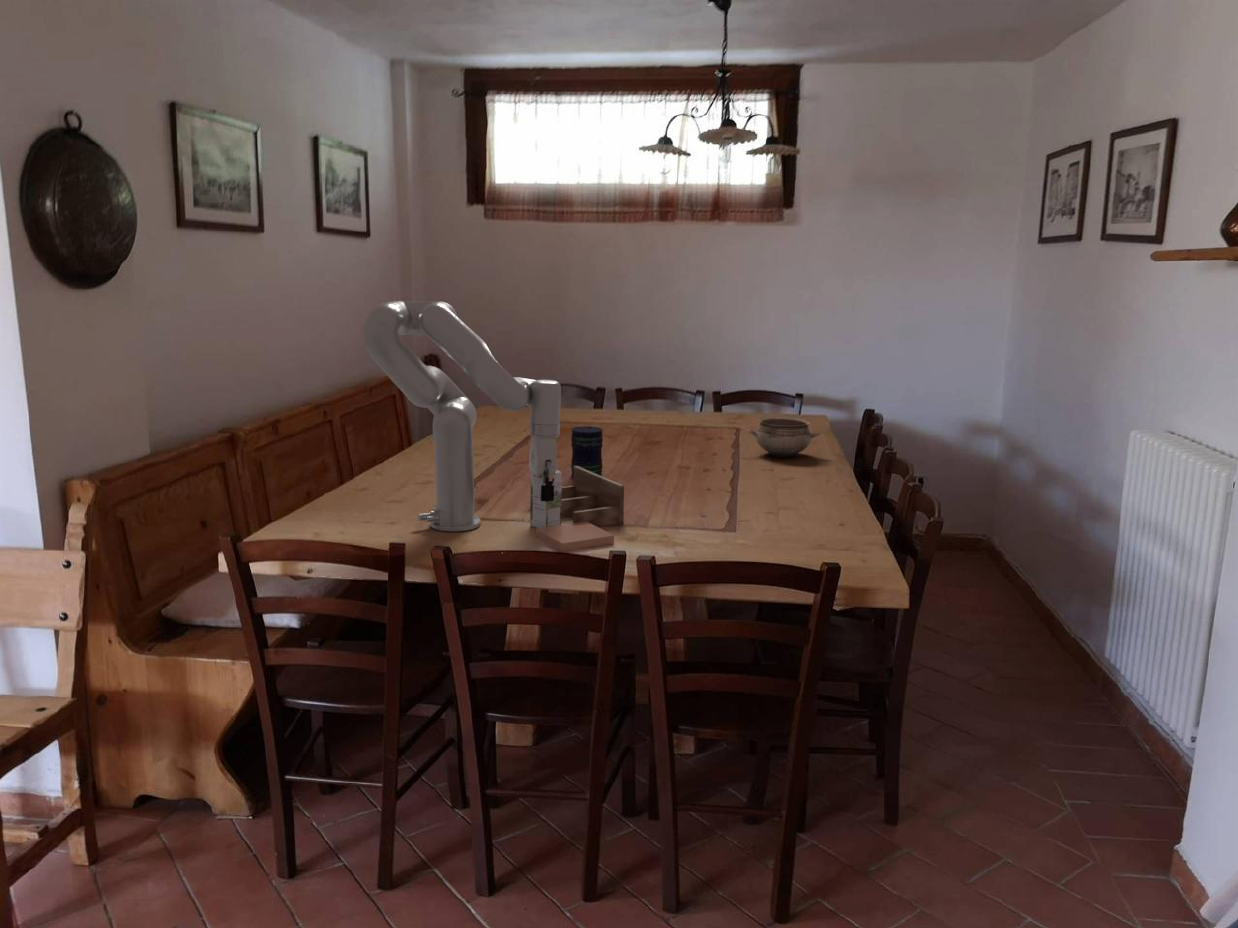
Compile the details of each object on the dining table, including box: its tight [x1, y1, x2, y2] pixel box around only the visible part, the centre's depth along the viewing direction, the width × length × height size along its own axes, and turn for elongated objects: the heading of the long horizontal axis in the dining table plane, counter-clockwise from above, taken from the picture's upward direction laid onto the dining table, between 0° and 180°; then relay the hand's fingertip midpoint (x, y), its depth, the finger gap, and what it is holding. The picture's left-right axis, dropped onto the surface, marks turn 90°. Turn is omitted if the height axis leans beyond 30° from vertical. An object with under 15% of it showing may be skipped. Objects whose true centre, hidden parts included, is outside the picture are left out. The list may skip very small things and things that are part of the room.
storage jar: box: [570, 426, 604, 478], centre depth 293 cm, size 10×10×15 cm
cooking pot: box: [747, 416, 821, 459], centre depth 329 cm, size 25×19×12 cm
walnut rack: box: [561, 466, 625, 528], centre depth 250 cm, size 14×26×10 cm, turn 31°
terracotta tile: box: [535, 521, 615, 552], centre depth 229 cm, size 14×14×2 cm
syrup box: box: [529, 469, 563, 528], centre depth 239 cm, size 6×6×14 cm
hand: (542, 495), depth 238 cm, fingers open, 9 cm apart
